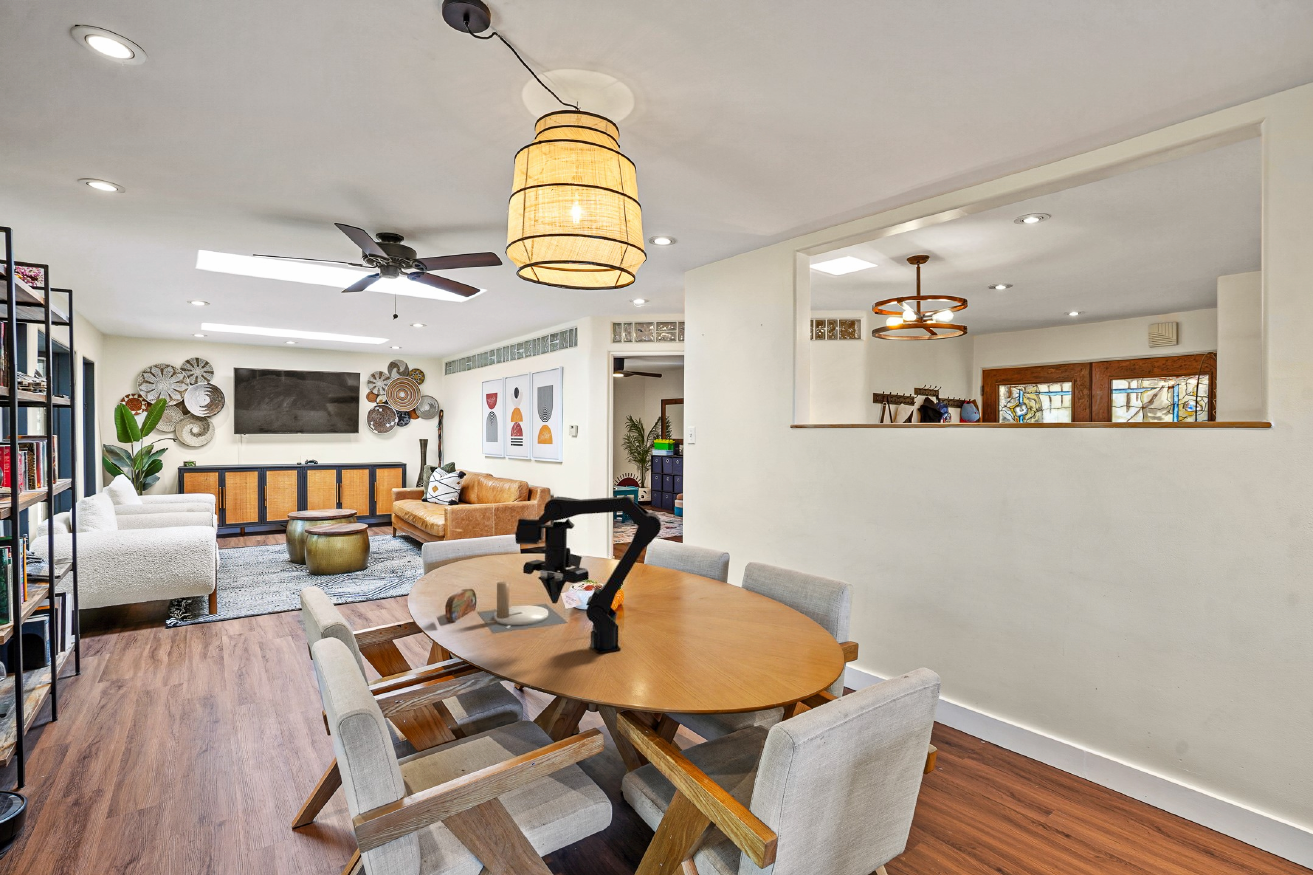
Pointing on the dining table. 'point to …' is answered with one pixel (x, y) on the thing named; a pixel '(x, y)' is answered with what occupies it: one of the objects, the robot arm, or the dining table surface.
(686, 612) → the dining table surface
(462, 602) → the tin
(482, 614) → the dial plate
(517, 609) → the dial
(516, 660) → the dining table surface
